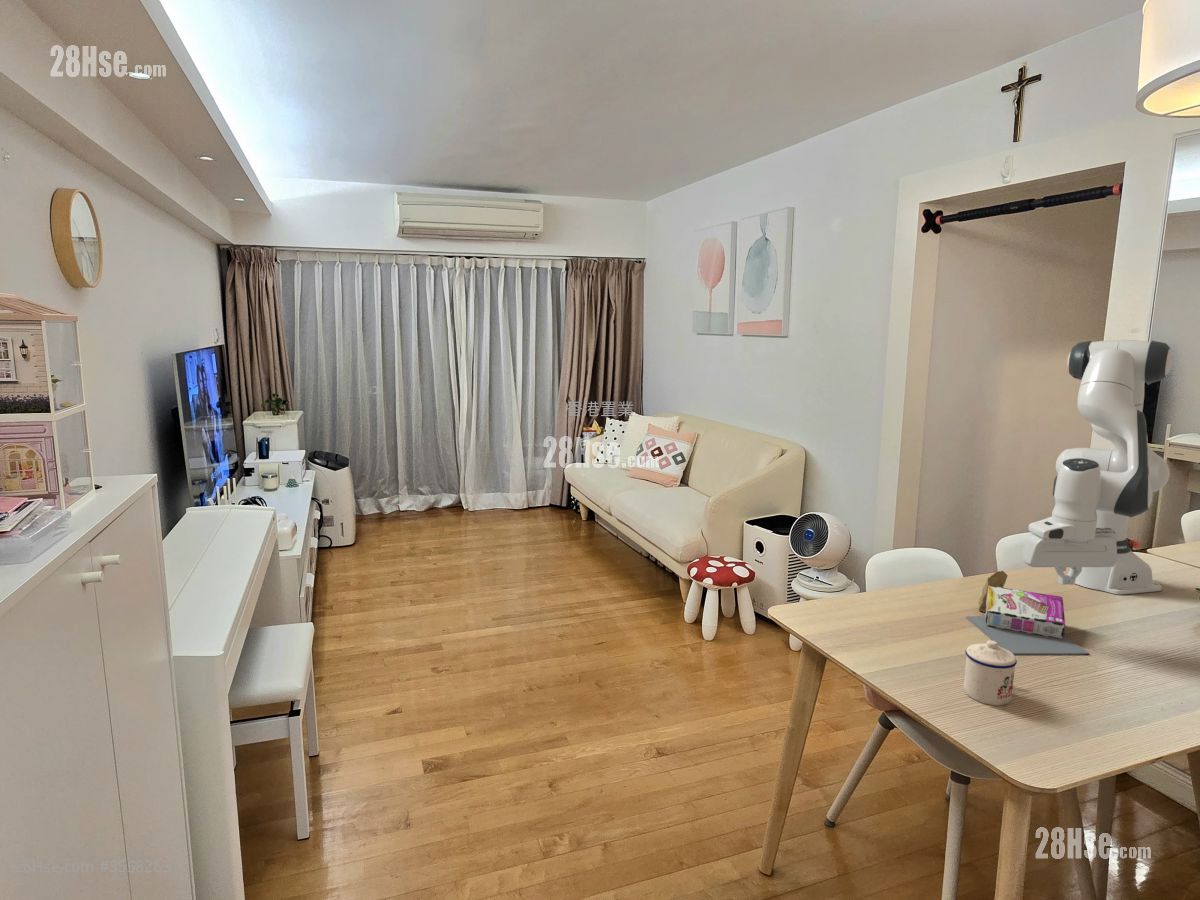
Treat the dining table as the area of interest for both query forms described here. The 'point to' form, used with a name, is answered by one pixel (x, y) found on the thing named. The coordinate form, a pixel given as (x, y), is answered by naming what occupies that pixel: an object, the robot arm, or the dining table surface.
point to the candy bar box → (1025, 612)
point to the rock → (995, 580)
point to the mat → (1027, 641)
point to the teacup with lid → (989, 673)
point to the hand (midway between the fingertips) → (1066, 583)
